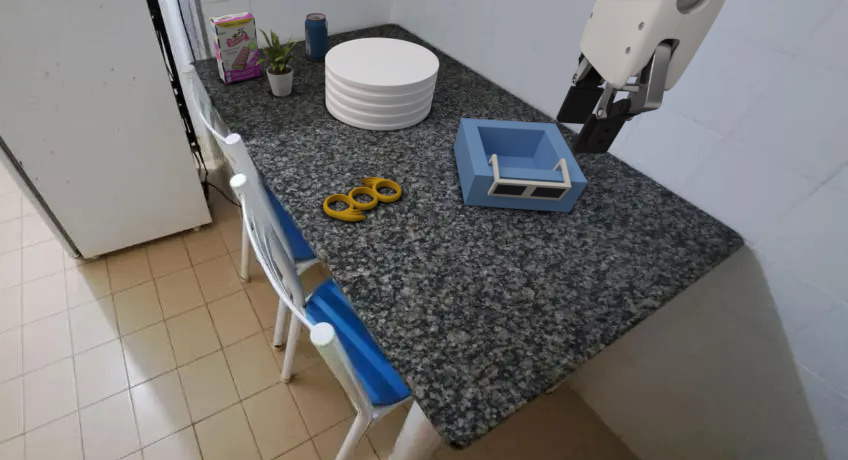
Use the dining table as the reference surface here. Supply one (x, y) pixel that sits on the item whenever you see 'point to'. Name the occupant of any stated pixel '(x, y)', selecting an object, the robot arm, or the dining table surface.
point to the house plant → (278, 65)
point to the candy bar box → (235, 46)
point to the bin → (514, 162)
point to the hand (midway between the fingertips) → (579, 134)
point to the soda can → (316, 36)
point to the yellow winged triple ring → (357, 214)
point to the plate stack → (380, 83)
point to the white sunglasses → (529, 185)
